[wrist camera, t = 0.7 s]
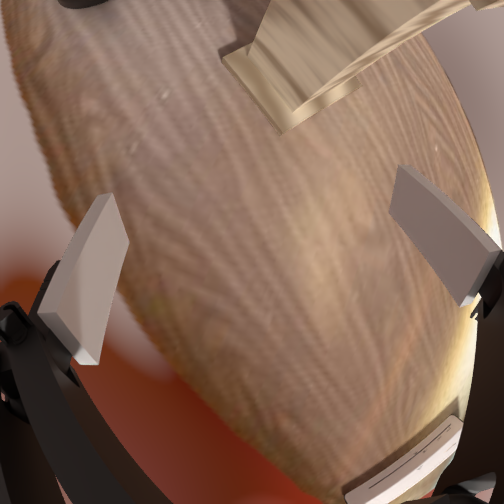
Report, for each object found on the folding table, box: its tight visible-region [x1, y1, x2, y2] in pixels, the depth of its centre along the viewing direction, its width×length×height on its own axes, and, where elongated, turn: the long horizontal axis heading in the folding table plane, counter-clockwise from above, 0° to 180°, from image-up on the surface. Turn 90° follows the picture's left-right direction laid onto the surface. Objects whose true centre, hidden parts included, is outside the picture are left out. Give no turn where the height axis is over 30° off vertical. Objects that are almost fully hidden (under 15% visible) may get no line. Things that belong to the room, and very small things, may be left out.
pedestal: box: [222, 0, 504, 136], centre depth 17 cm, size 14×12×30 cm
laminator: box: [344, 414, 464, 504], centre depth 48 cm, size 34×12×6 cm, turn 122°
